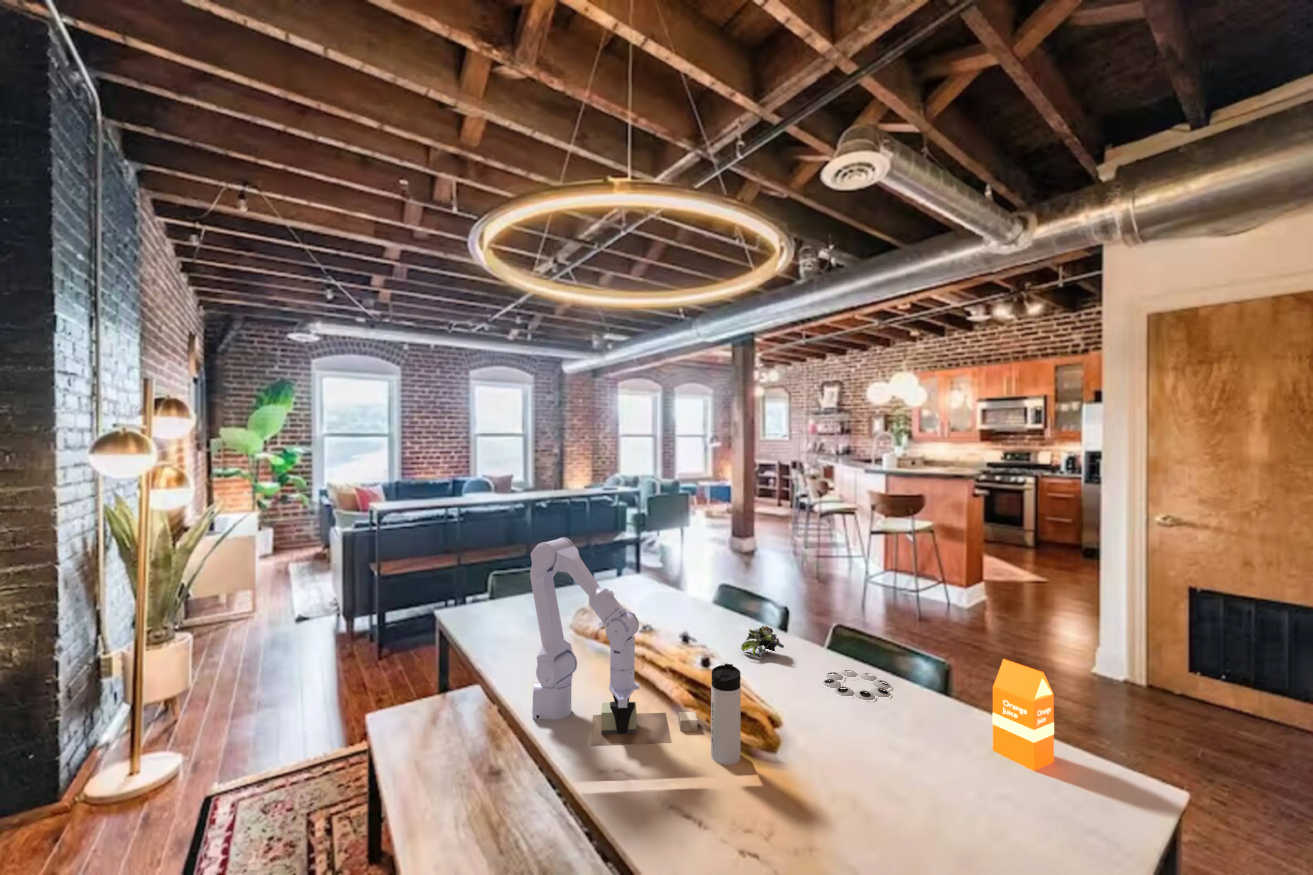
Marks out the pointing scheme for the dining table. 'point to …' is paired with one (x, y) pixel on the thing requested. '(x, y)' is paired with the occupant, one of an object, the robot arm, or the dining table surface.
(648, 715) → the walnut board
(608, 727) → the block
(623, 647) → the robot arm
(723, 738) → the travel mug
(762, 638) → the passion flower
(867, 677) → the silver black segmented ring
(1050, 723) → the orange juice
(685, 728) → the birch offcut
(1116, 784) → the dining table surface
